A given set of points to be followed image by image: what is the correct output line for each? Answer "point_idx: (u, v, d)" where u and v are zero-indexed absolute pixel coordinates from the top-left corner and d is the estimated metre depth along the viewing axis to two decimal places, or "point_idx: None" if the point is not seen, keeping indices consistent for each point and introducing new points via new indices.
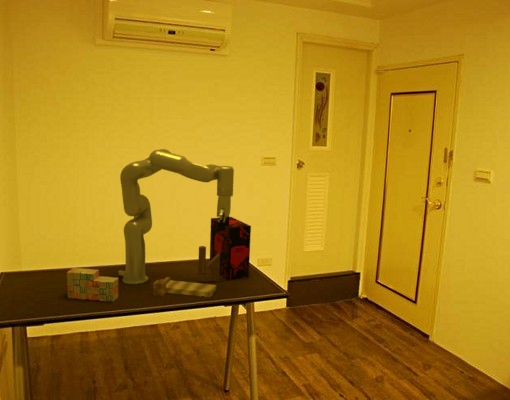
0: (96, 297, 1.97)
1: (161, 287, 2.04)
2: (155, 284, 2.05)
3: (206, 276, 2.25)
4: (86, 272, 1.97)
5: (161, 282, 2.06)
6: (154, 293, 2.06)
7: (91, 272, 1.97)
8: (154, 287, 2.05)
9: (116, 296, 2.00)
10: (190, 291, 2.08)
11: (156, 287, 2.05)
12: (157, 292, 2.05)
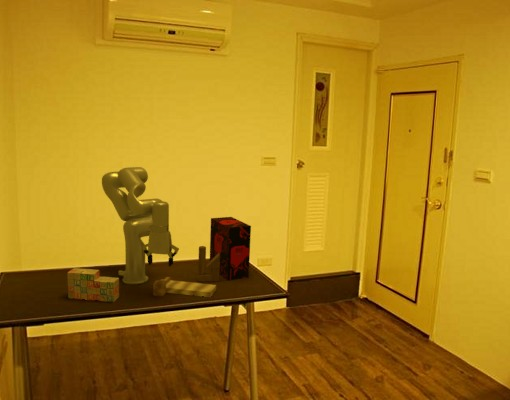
0: (97, 297, 1.97)
1: (161, 287, 2.04)
2: (155, 284, 2.05)
3: (206, 276, 2.25)
4: (87, 272, 1.97)
5: (161, 282, 2.06)
6: (154, 293, 2.06)
7: (92, 272, 1.97)
8: (154, 287, 2.05)
9: (117, 296, 2.00)
10: (190, 291, 2.08)
11: (156, 287, 2.05)
12: (157, 292, 2.05)
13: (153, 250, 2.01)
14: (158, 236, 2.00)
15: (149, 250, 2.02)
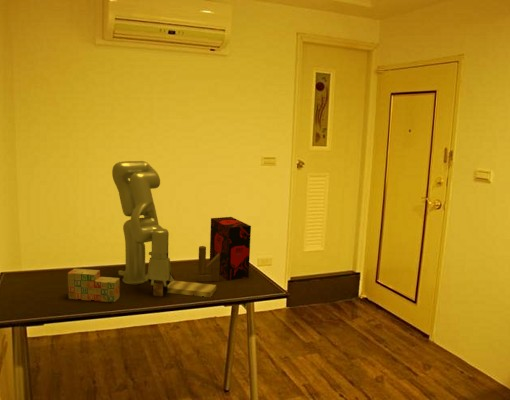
0: (97, 298, 1.97)
1: (161, 287, 2.04)
2: (155, 284, 2.05)
3: (206, 276, 2.25)
4: (87, 273, 1.96)
5: (161, 282, 2.06)
6: (154, 293, 2.05)
7: (92, 273, 1.97)
8: (154, 287, 2.05)
9: (118, 296, 2.00)
10: (190, 291, 2.08)
11: (156, 287, 2.05)
12: (157, 292, 2.05)
13: (152, 277, 2.04)
14: (157, 263, 2.02)
15: (149, 276, 2.04)
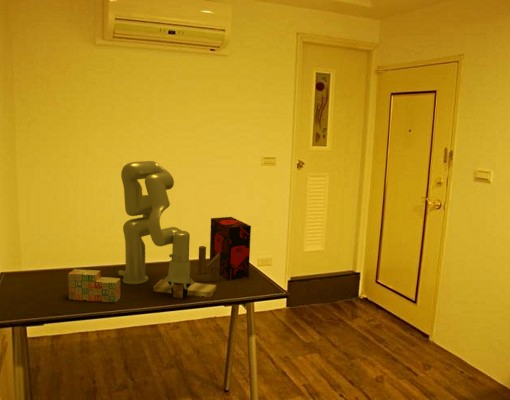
0: (98, 298, 1.96)
1: (181, 289, 2.03)
2: (175, 286, 2.03)
3: (206, 276, 2.25)
4: (88, 273, 1.96)
5: (181, 284, 2.05)
6: (174, 295, 2.04)
7: (93, 273, 1.96)
8: (174, 289, 2.04)
9: (119, 296, 2.00)
10: (190, 291, 2.08)
11: (176, 288, 2.04)
12: (177, 294, 2.04)
13: (173, 279, 2.02)
14: (178, 266, 2.01)
15: (169, 279, 2.03)
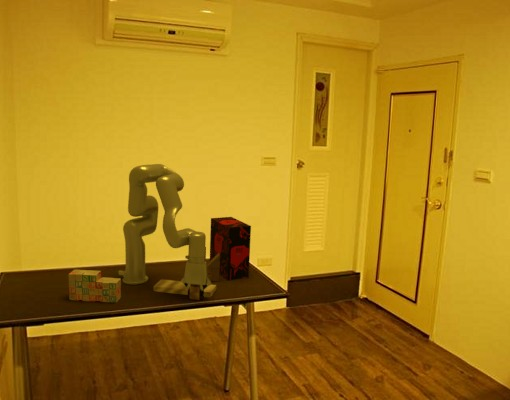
0: (99, 298, 1.96)
1: (198, 290, 2.02)
2: (192, 287, 2.02)
3: None
4: (88, 273, 1.96)
5: (197, 285, 2.03)
6: (190, 296, 2.03)
7: (93, 273, 1.96)
8: (190, 290, 2.02)
9: (119, 297, 2.00)
10: None
11: (193, 290, 2.02)
12: (193, 296, 2.02)
13: (189, 281, 2.01)
14: (194, 267, 1.99)
15: (185, 280, 2.01)
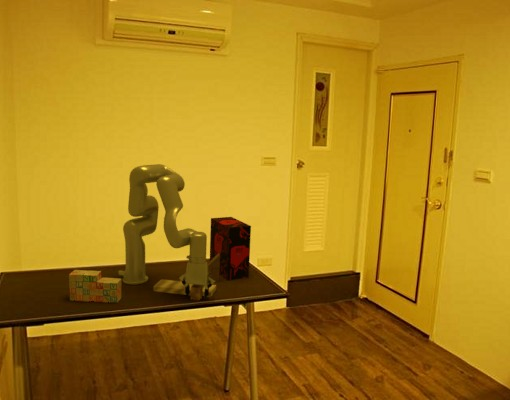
0: (99, 299, 1.96)
1: (199, 291, 2.02)
2: (192, 288, 2.02)
3: None
4: (89, 274, 1.95)
5: (198, 286, 2.03)
6: (191, 297, 2.03)
7: (94, 273, 1.96)
8: (191, 291, 2.02)
9: (120, 297, 1.99)
10: (190, 291, 2.08)
11: (194, 291, 2.02)
12: (194, 296, 2.02)
13: (190, 281, 2.01)
14: (195, 267, 1.99)
15: (186, 280, 2.01)
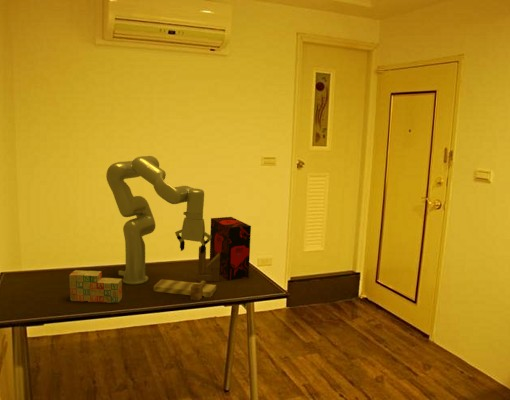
0: (100, 299, 1.95)
1: (199, 291, 2.02)
2: (192, 288, 2.02)
3: (206, 276, 2.25)
4: (89, 274, 1.95)
5: (198, 286, 2.03)
6: (191, 297, 2.03)
7: (94, 274, 1.95)
8: (191, 291, 2.02)
9: (120, 297, 1.99)
10: (190, 291, 2.08)
11: (194, 291, 2.02)
12: (194, 296, 2.02)
13: (186, 237, 2.03)
14: (192, 223, 2.01)
15: (182, 236, 2.03)
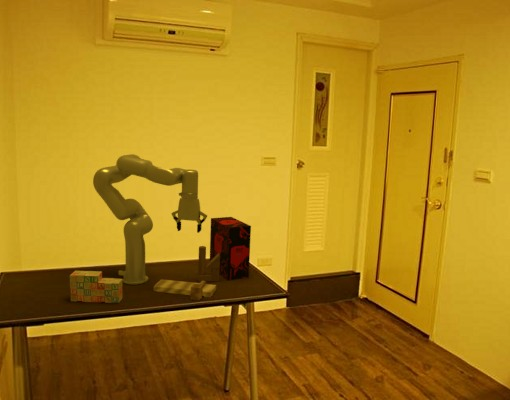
0: (101, 299, 1.95)
1: (199, 291, 2.02)
2: (192, 288, 2.02)
3: (206, 276, 2.25)
4: (90, 274, 1.95)
5: (198, 286, 2.03)
6: (191, 297, 2.03)
7: (95, 274, 1.95)
8: (191, 291, 2.02)
9: (121, 297, 1.99)
10: (190, 291, 2.08)
11: (194, 291, 2.02)
12: (194, 297, 2.02)
13: (183, 216, 2.09)
14: (187, 203, 2.07)
15: (179, 216, 2.09)
